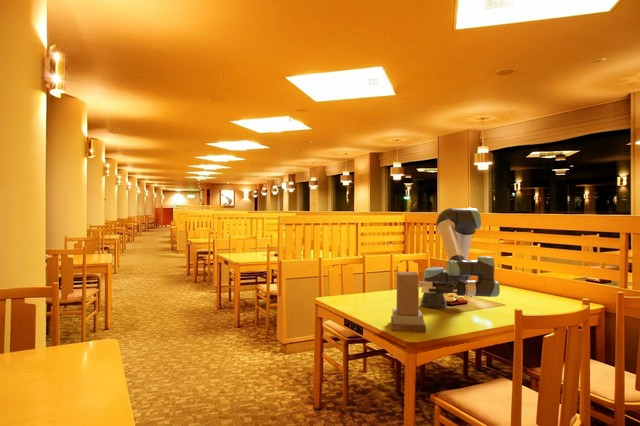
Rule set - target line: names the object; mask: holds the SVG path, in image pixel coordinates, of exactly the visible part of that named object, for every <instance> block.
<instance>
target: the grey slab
mask: <svg viewBox="0 0 640 426" xmlns="http://www.w3.org/2000/svg"><path fill="white" fill-rule="evenodd" d="M391 312H392V313H391V316H392V317H393V323H394V324H405V325H423V320H424V315H423V313H422V312H421V309H419V315H418V316H412V315H398V313H397V308H392V311H391Z"/></svg>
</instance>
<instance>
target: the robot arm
mask: <svg viewBox="0 0 640 426" xmlns="http://www.w3.org/2000/svg"><path fill="white" fill-rule="evenodd" d="M435 226H436V230H437V231H438V233H440V236H441V239H442V243H443V245H444V249H445V252H446V256H447V259H448V260H447V261H446V263H445V268H446V269H444V267H442V266H432V267H428V268H425V269H424V272H423V281H419V288H421V293H423V294H422V297H421V300H420V306H421V307H422V308H428V309H444V308H447V301H446V298H445V295H446V294H456V296H458V297H465V296H466V297H470V298H473V297H485V298H486V297H487V298H494V297H498V296H500V292H501V290H500V289H501V287H500V283H499V281H496V280H495V258H494V257H493V256H489V255H481V256H480V255H479V256H478V257H477V259H473V260H472V259H471V260H470V259H469V254H470V249H471V243H472V237H473V235H475V234H476V231H477V230H479V229H481V227H482V216H481V214H480V211H479V210H478V209H477V208H476V207H475V208H474V207H473V208H472V207H465V208H464V207H460V208H459V207H456V208H455V207H449V208H446V209H444V210H442V211H441V212H440V213H439V215H438V216H437V219H436V222H435ZM468 259H469V260H468ZM471 277H477V280H471ZM444 294H445V295H444Z"/></svg>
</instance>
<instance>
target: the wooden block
mask: <svg viewBox="0 0 640 426" xmlns="http://www.w3.org/2000/svg"><path fill="white" fill-rule="evenodd" d="M419 280H420V277H419V274H418V272H417V271H396V309H397V313H398V315H412V316H418V315H419V310H420V309H419V306H420V305H419V304H420V303H419V300H420V299H419V294H420V292H419V288H420V287H419V282H420V281H419Z"/></svg>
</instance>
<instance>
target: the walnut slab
mask: <svg viewBox="0 0 640 426" xmlns="http://www.w3.org/2000/svg"><path fill="white" fill-rule="evenodd" d="M390 318H391V319H390V325H391V332H395V333H396V332H400V333H416V334H417V333H421V334H423V333H424V334H427V326H426V322H425V320H424V319H423V325H405V324H394V323H393V317H392V315H391V316H390Z"/></svg>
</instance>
